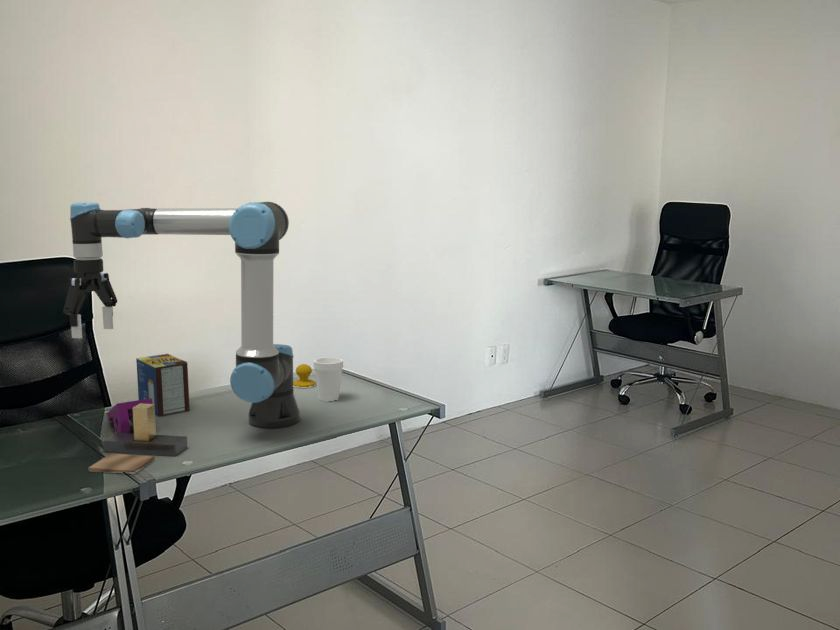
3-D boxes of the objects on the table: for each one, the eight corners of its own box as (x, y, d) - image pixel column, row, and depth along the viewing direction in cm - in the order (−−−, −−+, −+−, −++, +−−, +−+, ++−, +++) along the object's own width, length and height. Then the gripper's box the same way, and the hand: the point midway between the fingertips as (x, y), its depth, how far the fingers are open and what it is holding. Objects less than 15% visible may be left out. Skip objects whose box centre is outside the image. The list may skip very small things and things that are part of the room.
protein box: (170, 399, 250) (167, 353, 248) (190, 410, 239) (188, 361, 236) (137, 405, 244) (135, 357, 241) (157, 417, 232) (154, 367, 229)
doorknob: (287, 386, 268) (302, 381, 275) (305, 389, 264) (320, 384, 271) (287, 365, 267) (302, 361, 273) (304, 368, 263) (320, 364, 269)
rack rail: (187, 447, 206) (187, 436, 206) (175, 456, 199) (175, 445, 199) (117, 442, 209) (117, 432, 209) (103, 451, 202) (102, 440, 202)
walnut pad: (154, 460, 197) (154, 456, 196) (134, 474, 187) (134, 470, 187) (110, 457, 198) (110, 453, 198) (88, 471, 189) (88, 467, 188)
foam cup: (341, 403, 248) (341, 364, 246) (312, 403, 248) (312, 363, 246) (344, 395, 257) (344, 357, 255) (316, 394, 258) (316, 357, 255)
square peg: (156, 447, 206) (154, 404, 204) (149, 452, 202) (146, 408, 200) (142, 446, 206) (140, 403, 204) (135, 451, 203) (132, 407, 201)
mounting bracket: (109, 444, 226) (122, 433, 211) (104, 416, 227) (116, 403, 213) (141, 438, 231) (157, 427, 217) (137, 410, 233) (151, 398, 218)
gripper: (104, 253, 227) (109, 324, 231) (44, 262, 203) (50, 341, 207) (127, 254, 225) (131, 326, 229) (69, 263, 202) (75, 342, 205)
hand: (93, 333), depth 218 cm, fingers open, 13 cm apart
